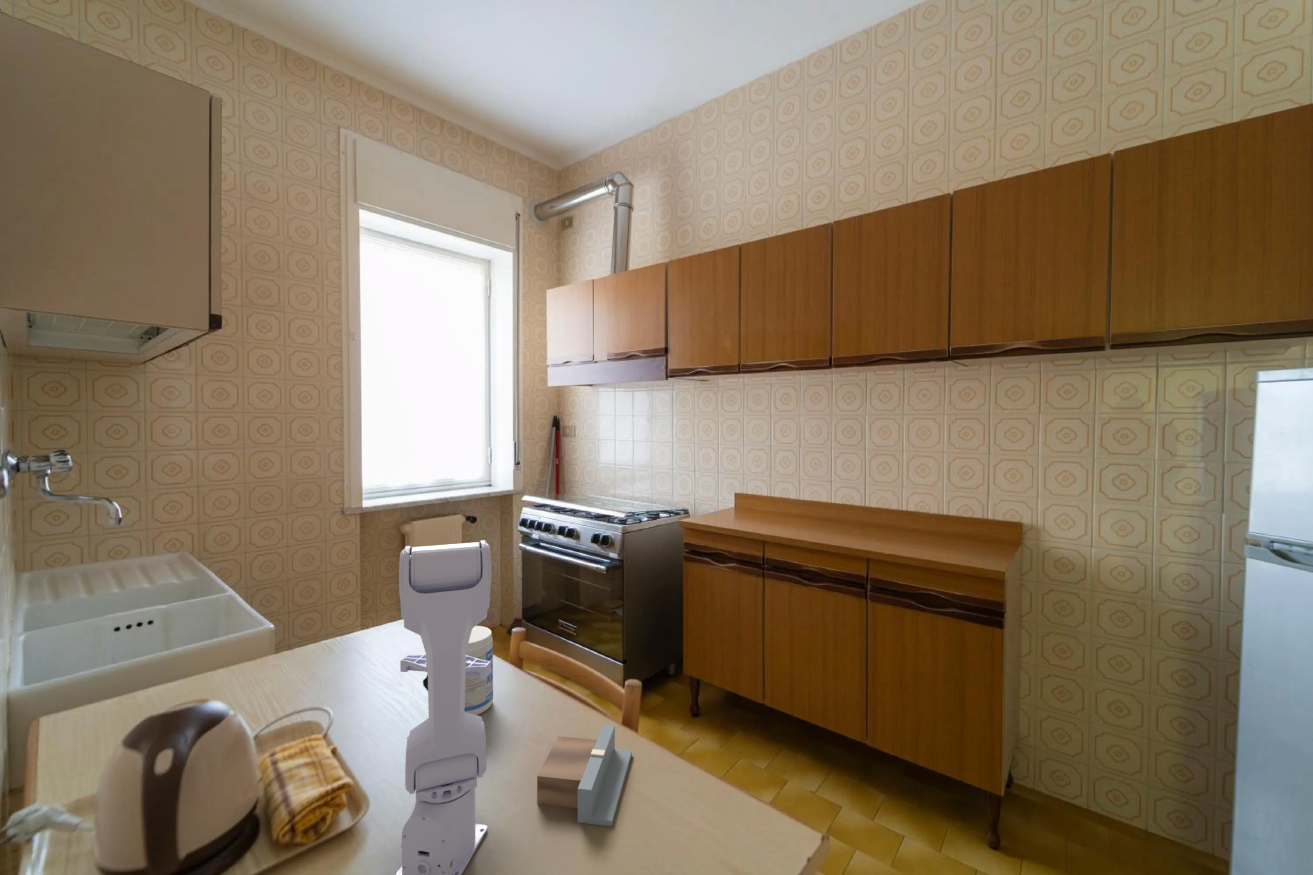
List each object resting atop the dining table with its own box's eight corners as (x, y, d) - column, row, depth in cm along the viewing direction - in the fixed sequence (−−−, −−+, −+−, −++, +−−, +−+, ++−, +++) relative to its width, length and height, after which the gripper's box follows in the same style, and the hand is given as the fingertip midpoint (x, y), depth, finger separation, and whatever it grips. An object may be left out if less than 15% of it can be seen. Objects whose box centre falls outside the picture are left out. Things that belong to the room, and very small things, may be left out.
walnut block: (582, 810, 78) (582, 780, 78) (537, 805, 79) (537, 775, 79) (598, 766, 88) (598, 739, 88) (558, 761, 89) (558, 736, 89)
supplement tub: (499, 711, 104) (499, 637, 103) (448, 726, 99) (448, 648, 98) (485, 689, 112) (485, 621, 111) (437, 702, 107) (437, 630, 106)
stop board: (611, 826, 75) (611, 789, 75) (577, 822, 76) (577, 786, 75) (631, 754, 91) (632, 724, 90) (603, 752, 91) (603, 722, 91)
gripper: (499, 626, 88) (499, 706, 88) (417, 621, 90) (418, 699, 90) (479, 644, 81) (479, 731, 81) (391, 638, 83) (392, 723, 83)
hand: (445, 716), depth 85 cm, fingers closed
